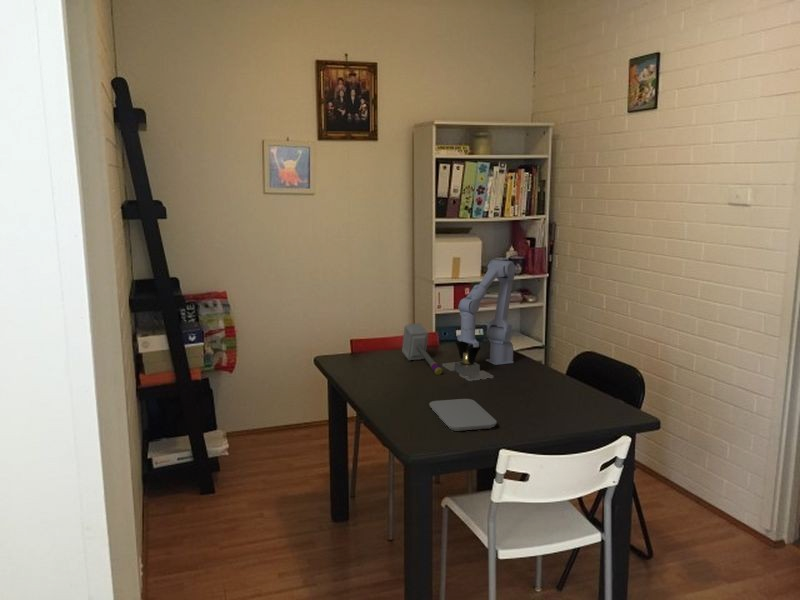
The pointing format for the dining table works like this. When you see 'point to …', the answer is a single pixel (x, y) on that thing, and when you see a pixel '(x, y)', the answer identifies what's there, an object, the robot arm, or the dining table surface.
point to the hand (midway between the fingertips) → (467, 360)
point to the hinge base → (468, 370)
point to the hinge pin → (466, 359)
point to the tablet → (462, 414)
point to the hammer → (417, 345)
